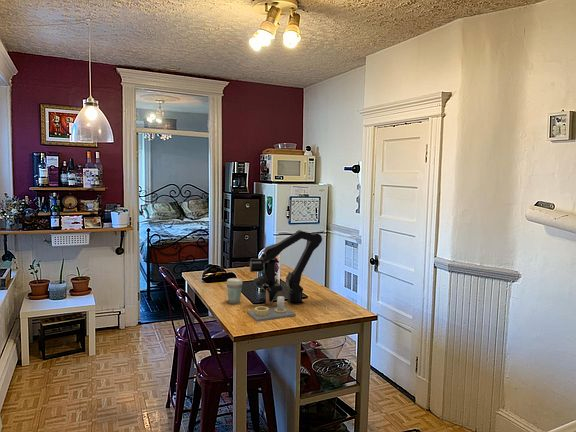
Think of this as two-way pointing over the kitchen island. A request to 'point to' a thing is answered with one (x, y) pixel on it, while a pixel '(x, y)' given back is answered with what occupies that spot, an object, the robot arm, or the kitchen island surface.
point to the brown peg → (268, 298)
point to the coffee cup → (234, 290)
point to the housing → (271, 311)
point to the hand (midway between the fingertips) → (269, 300)
